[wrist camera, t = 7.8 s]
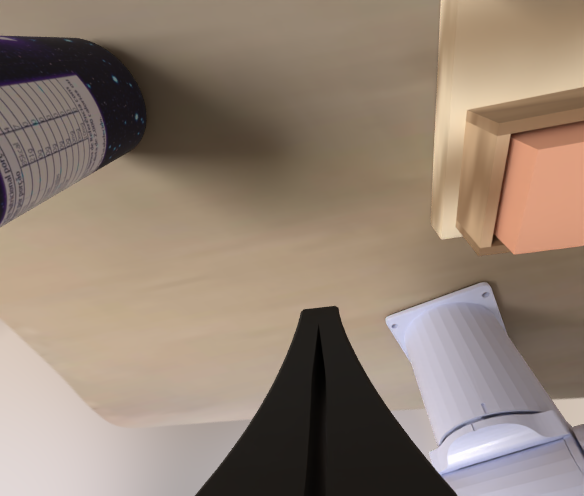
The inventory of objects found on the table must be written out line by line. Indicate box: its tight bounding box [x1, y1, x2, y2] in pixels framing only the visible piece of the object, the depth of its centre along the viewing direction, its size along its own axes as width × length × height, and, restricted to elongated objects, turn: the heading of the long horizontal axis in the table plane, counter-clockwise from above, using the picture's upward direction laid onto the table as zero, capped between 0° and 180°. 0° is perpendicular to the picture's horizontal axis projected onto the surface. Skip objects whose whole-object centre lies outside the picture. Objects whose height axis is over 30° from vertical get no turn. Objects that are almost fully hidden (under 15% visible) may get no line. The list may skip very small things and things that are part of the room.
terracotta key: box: [493, 121, 584, 255], centre depth 14 cm, size 5×5×3 cm
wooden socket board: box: [431, 0, 584, 256], centre depth 12 cm, size 19×8×5 cm, turn 12°
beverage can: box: [0, 36, 146, 227], centre depth 12 cm, size 6×6×12 cm
